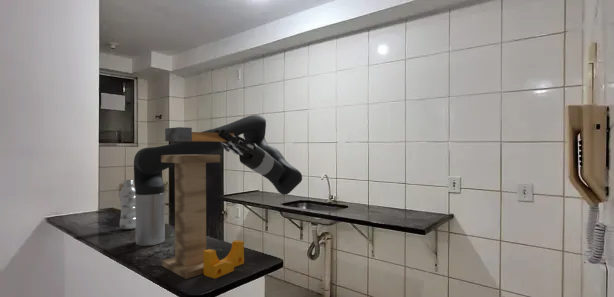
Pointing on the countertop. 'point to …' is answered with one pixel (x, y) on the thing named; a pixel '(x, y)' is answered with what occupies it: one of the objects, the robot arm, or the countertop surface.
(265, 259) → the countertop surface
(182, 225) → the stand
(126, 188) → the plastic bottle
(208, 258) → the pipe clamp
